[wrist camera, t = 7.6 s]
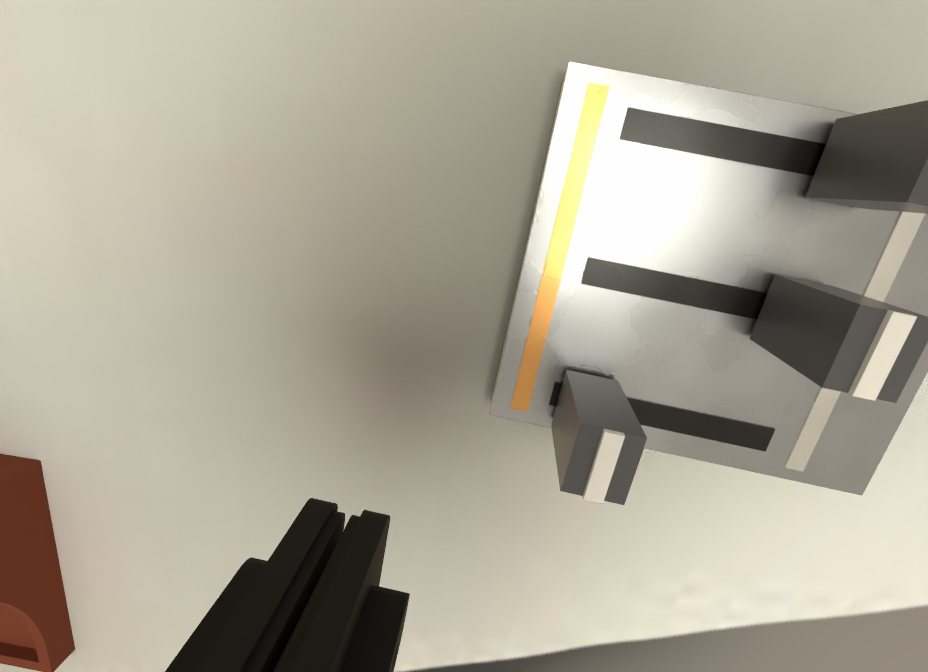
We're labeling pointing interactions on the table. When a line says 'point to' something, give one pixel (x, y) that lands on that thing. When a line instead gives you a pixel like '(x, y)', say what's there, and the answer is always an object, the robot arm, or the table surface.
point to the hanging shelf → (30, 572)
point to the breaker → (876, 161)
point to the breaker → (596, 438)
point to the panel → (700, 275)
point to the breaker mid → (841, 337)
